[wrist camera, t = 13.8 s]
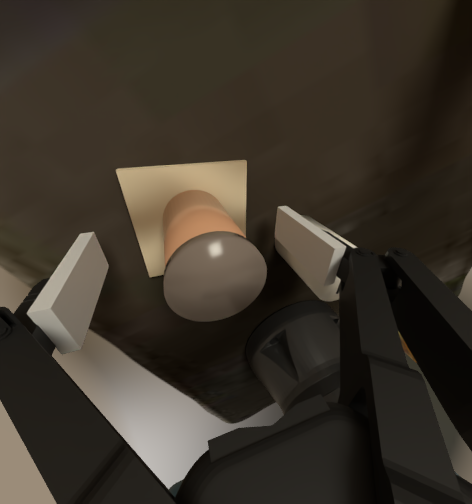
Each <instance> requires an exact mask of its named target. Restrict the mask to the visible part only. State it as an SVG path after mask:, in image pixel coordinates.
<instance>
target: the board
mask: <svg viewBox="0 0 472 504" xmlns="http://www.w3.org/2000/svg"><path fill="white" fill-rule="evenodd" d="M116 173H117V176H118V179H119V182H120V185H121V188H122V192H123V195H124V198H125V201H126V204H127V207H128V210H129V214H130V217H131V220H132V223H133V226H134V229H135V232H136V236H137V239H138V242H139V245H140V248H141V251H142V254H143V258H144V261H145V264H146V267H147V270H148V273H149V276H150V277H155V276H160V275H164V270H165V257H164V236H163V213H164V210H165V207H166V205H167V204H168V202H169V201H170V200H171V199H172V198H173V197H174V196H176V195H177V194H179V193H181V192H184V191H188V190H202V191H205V192H208V193H210V194H212V195H213V196H214V197H216V198H217V199H218V200H219V202H220V203H221V204H222V206H223V207H224V208H225V210H226V211H227V212H228V214H229V215H230V216H231V218H232V219H233V220H234V222H235V223H236V224H237V226H238V227H239V228H240V230H241V231H242V232H243V234H244V235H245V237H246V175H247V161H245V160H236V161H222V162H207V163H193V164H178V165H164V166H149V167H135V168H120V169H117V170H116Z"/></svg>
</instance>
